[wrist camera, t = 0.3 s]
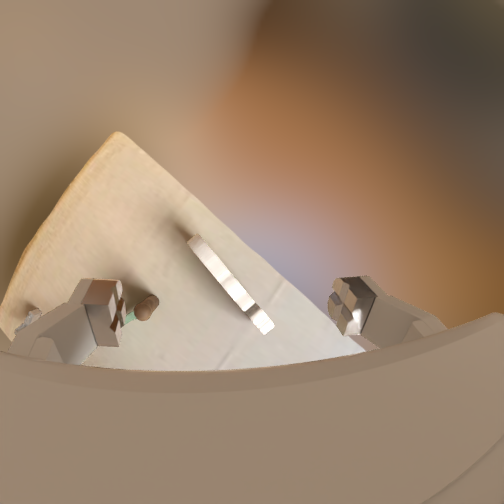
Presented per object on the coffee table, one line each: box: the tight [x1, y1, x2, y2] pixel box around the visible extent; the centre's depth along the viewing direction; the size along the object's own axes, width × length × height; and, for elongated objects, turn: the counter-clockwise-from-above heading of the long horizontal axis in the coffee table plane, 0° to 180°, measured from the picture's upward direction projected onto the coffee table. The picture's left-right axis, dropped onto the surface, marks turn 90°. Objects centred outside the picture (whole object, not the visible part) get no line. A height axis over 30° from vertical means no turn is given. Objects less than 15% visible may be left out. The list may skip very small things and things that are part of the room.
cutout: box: [186, 234, 274, 335], centre depth 56 cm, size 15×3×25 cm
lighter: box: [15, 309, 42, 335], centre depth 49 cm, size 7×2×8 cm, turn 141°
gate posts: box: [134, 295, 159, 321], centre depth 51 cm, size 3×25×14 cm, turn 120°
